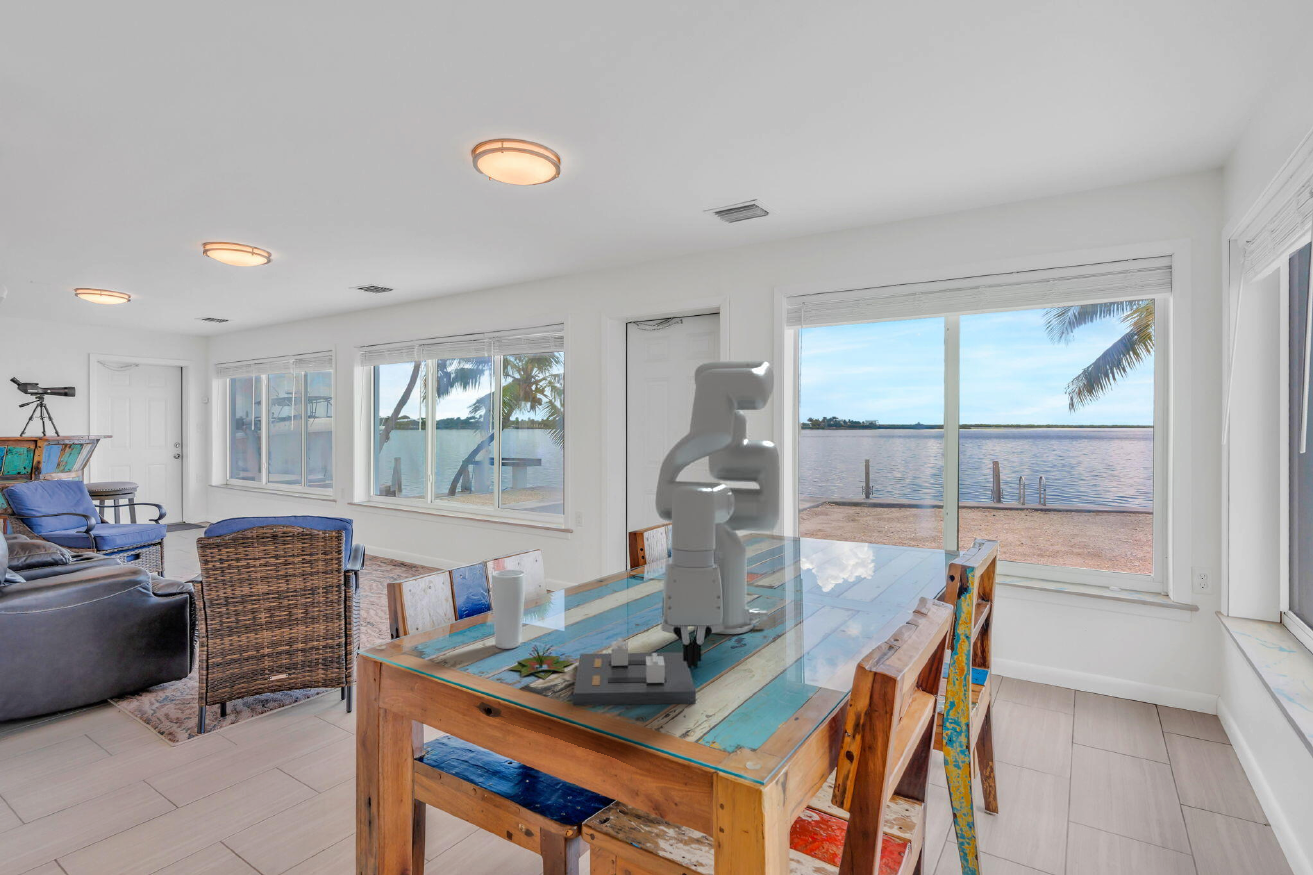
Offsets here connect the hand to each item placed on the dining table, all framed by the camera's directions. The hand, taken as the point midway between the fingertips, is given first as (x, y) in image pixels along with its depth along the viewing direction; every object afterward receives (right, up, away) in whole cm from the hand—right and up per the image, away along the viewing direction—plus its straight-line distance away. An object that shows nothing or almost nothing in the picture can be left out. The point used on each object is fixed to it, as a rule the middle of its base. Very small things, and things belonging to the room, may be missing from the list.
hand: (691, 665), depth 109 cm
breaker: (-13, -2, +8) cm, 15 cm away
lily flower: (-28, -5, +11) cm, 30 cm away
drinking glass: (-37, -4, +23) cm, 43 cm away
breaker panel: (-10, -5, +4) cm, 12 cm away
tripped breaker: (-6, -2, 0) cm, 7 cm away
